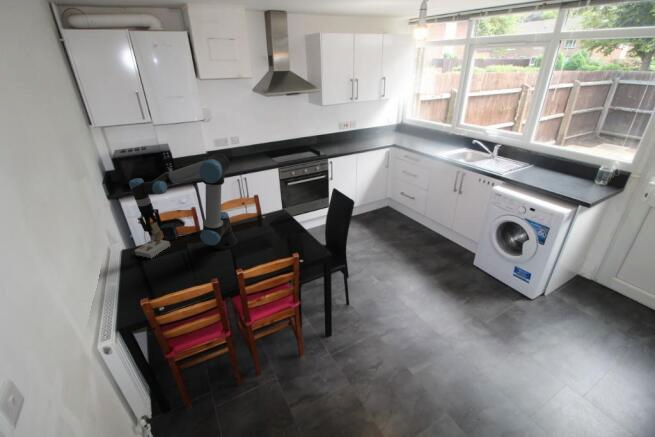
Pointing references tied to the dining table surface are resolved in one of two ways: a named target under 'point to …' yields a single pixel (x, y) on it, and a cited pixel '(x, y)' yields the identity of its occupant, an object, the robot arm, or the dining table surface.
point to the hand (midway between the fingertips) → (157, 237)
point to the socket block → (152, 248)
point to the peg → (156, 231)
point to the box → (169, 231)
